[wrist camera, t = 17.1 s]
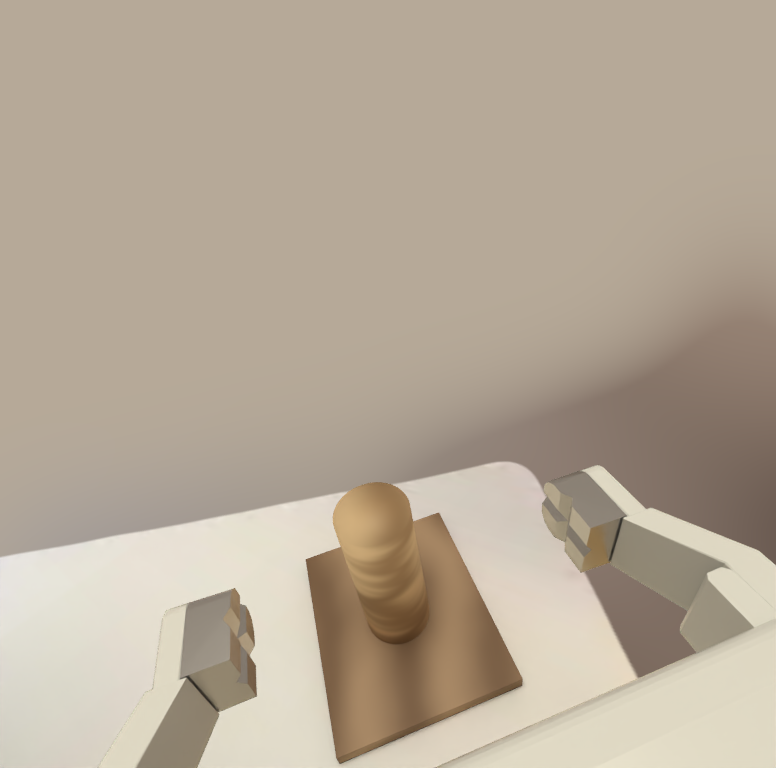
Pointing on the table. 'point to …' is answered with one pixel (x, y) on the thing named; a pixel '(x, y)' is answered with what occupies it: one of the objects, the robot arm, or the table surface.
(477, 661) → the board
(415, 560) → the oak roller
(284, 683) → the table surface
